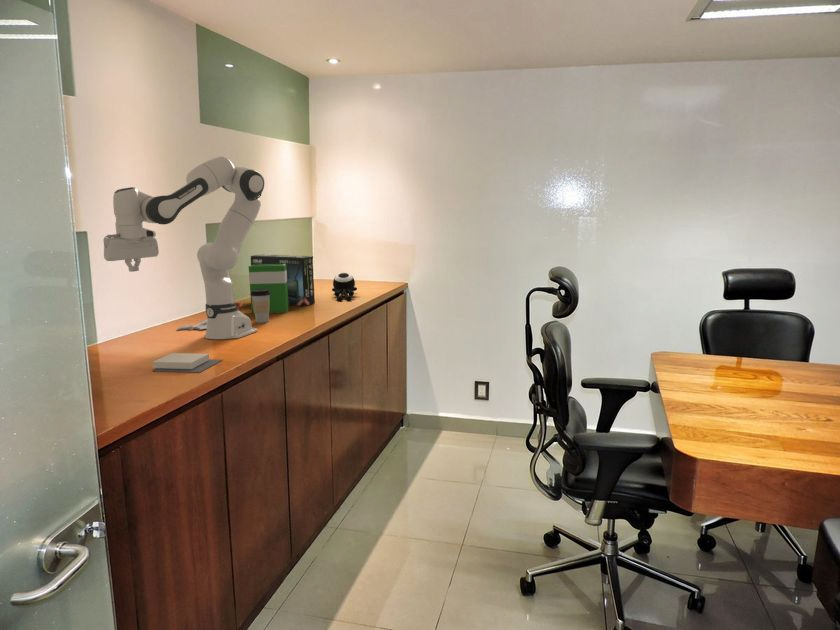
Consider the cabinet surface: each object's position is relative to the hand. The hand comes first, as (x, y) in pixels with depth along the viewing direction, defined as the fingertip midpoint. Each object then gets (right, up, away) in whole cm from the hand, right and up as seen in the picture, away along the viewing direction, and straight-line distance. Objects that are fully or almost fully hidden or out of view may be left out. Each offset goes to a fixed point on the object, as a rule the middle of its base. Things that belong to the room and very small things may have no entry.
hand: (134, 271), depth 221 cm
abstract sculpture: (+60, -6, +135) cm, 148 cm away
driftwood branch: (+4, -21, +60) cm, 64 cm away
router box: (+29, -10, +116) cm, 120 cm away
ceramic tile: (+15, -32, -12) cm, 37 cm away
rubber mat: (+25, -34, -13) cm, 44 cm away
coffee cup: (+30, -19, +64) cm, 73 cm away
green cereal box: (+27, -14, +91) cm, 96 cm away
